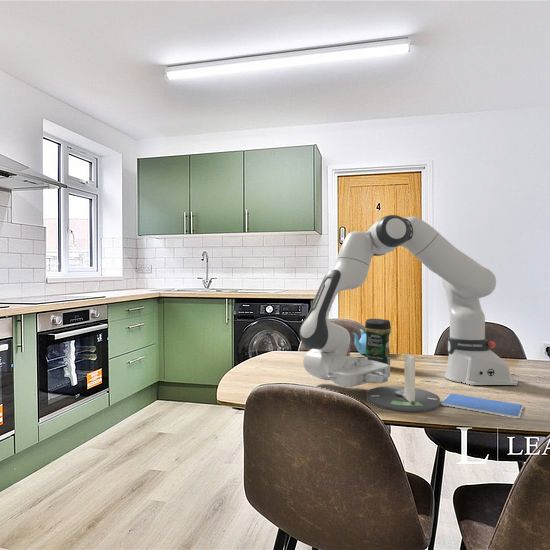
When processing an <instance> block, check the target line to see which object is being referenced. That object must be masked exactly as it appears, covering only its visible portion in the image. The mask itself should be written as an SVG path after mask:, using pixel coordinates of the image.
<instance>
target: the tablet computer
mask: <svg viewBox="0 0 550 550" xmlns="http://www.w3.org/2000/svg"><path fill="white" fill-rule="evenodd" d="M442 405H443V406H442ZM440 406H442V407H447V406H449V407H448V408H453V407H455V408H454V409H458V408H461V409H460V410H464V409H467V410H466V411H469V410H473V411H472V412H475V411H479V412H478V413H481V412H485V413H484V414H486V413H491V414H490V415H492V414H497V415H504V416H510V417H516V418H519V417H520V415H521V416H522V414H521V412H522V413H523V411H522V409H523V407H524V408H525V406H524V405H523V404H521V403H520V404H519V403H513V402H507V401H501V400H500V401H499V400H495V399H487V398H482V397H475V396H472V395H471V396H470V395H466V394H465V395H464V394H460V393H459V394H457V393H449V394H447V396H446V397H445V398H444V399H443V400H441V401H440ZM523 410H524V409H523ZM497 415H496V416H497ZM520 418H521V417H520Z"/></svg>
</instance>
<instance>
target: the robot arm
mask: <svg viewBox="0 0 550 550" xmlns="http://www.w3.org/2000/svg"><path fill="white" fill-rule="evenodd" d="M399 246H401V247H403V248H405V249H407V250H408V251H409V252H410V253H411V254H412V255H413V256H414V257H415V258H416V259H417V260H418V261H420V262H421V263H422V264H423V265H424V266H425V267H426V268H427V269H428V270H429V271H431V272H432V273H434V274H436V275H438V276H439V277H441V278H442V285H443V287H444V289H445V296H446V302H447V306H448V312H449V336H448V338H447V351H448V358H447V364H446V369H445V373H444V378H445V379H447V380H450V381H453V382H457V383H461V382H462V383H461V384H465V383H466V385H469V384H470V385H469V386H473V385H516V386H518V385H517V384H519V383H518V379H517V378H516V377H513V376H511V372H510V367H509V365H508V363H507V362H506V361H505V360H503V359H502V358H501V357H500V356H498V354H496V353H495V352H493V351H492V350H491V349H494V348H495V347H496V345H497V343H496V342H494V341H493V340H491V341H490V340H488V339H486V316H485V313H484V311H483V310H482V306H481V303H480V299H481V298H485V297H487V296H490V294H492V293H493V292H494V290H495V289H496V286H497V278H496V275H495V274H494V273H493V271H491V270H490V269H489V268H487V267H485V266H483V265H482V264H480V263H478V262H477V261H476V260H475V259H474V258H472V257H470V256H468V254H466V253H464V252H462V251H461V250H459V249H458V248H457V247H455V246H454V245H453V244H452V243H451V242H450V241H449V240H448V239H446V238H445V237H444V236H443V235H442V234H441V233H440V232H439V231H437V229H435V228H434V227H432V226H431V225H430V224H429V223H427V222H426V221H424V220H423V219H422V218H420V217H417V216H416V215H415V216H414V215H413V216H407V217H406V218H404V217H402V216H400V215H397V214H389V215H386V216H383V217H382V218H380V219H379V220H377V221H376V222H374V223H373V224H372V225H371V227H369V228H368V229H367V230H366V231H360V230H355V231H354V230H353V231H351V232H349V233H347V235H345V238H344V240H343V242H342V244H341V246H340V249H339V252H338V254H337V259H336V261H335V263H334V266H333V268H332V269H331V270H329V271H328V272H327V273H326V274H325V275H324V277H323V279H322V281H321V283H320V285H319V286H318V290H317V293H316V295H315V297H314V299H313V302H312V303H311V306H310V309H309V311H308V313H307V315H306V317H305V318H304V320H303V321H302V323H301V325H300V327H299V338H300V342H301V344H303V346H304V347H305V348H307V349H309V350H307V352H306V353H305V354H304V355H303V358H302V363H303V368H304V370H305V371H306V372H307V374H309V375H311V376H312V377H315V378H317V379H319V380H322V381H332V383H334V384H336V385H338V386H342V387H345V388H353V387H357V386H361V385H365V384H367V383H379V384H383V383H386V382H389V378H390V376H391V365H390V366H389V365H387V364H385V363H381V362H377V361H373V360H368V358H367V357H365V356H351V355H350V356H347V353H348V350H349V347H350V348H351V341H352V338H351V333H350V332H349V330H348V329H347V328H345V327H344V326H342V325H339V324H337V323H335V322H331V321H329V320H328V319H329V317H328V316H329V314H330V311H331V308H332V307H333V304H334V301H335V299H336V296H338V294H339V293H340V292H341V291H346V290H354V289H357V288H359V287H361V286H362V285H364V284H365V281H366V280H367V278H368V273H369V270H370V265H371V261H372V258H373V256H375V257H378V256H379V257H380V256H383V255H386V254H388V253H390V252H393V251H394V250H395V249H396V248H398V247H399Z"/></svg>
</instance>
